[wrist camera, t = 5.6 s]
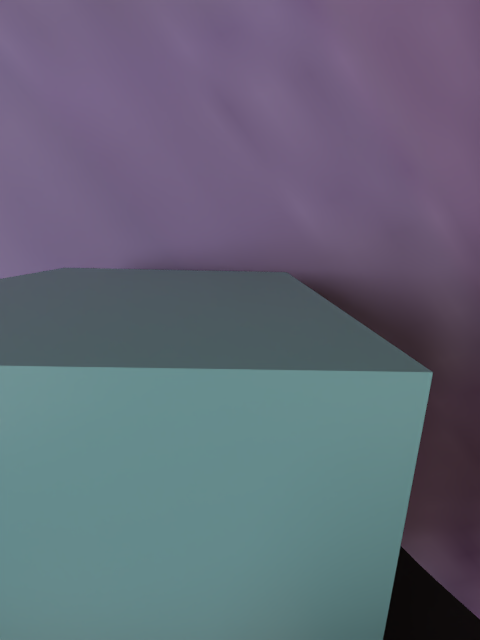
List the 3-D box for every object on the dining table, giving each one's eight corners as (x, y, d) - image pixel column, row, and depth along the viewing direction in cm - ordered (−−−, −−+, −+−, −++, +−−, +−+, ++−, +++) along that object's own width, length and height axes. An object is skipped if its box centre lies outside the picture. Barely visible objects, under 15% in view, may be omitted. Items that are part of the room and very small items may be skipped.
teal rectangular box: (99, 568, 10) (-85, 1014, 4) (64, 267, 8) (-456, 360, 2) (269, 569, 11) (313, 1008, 5) (286, 272, 8) (433, 372, 2)
